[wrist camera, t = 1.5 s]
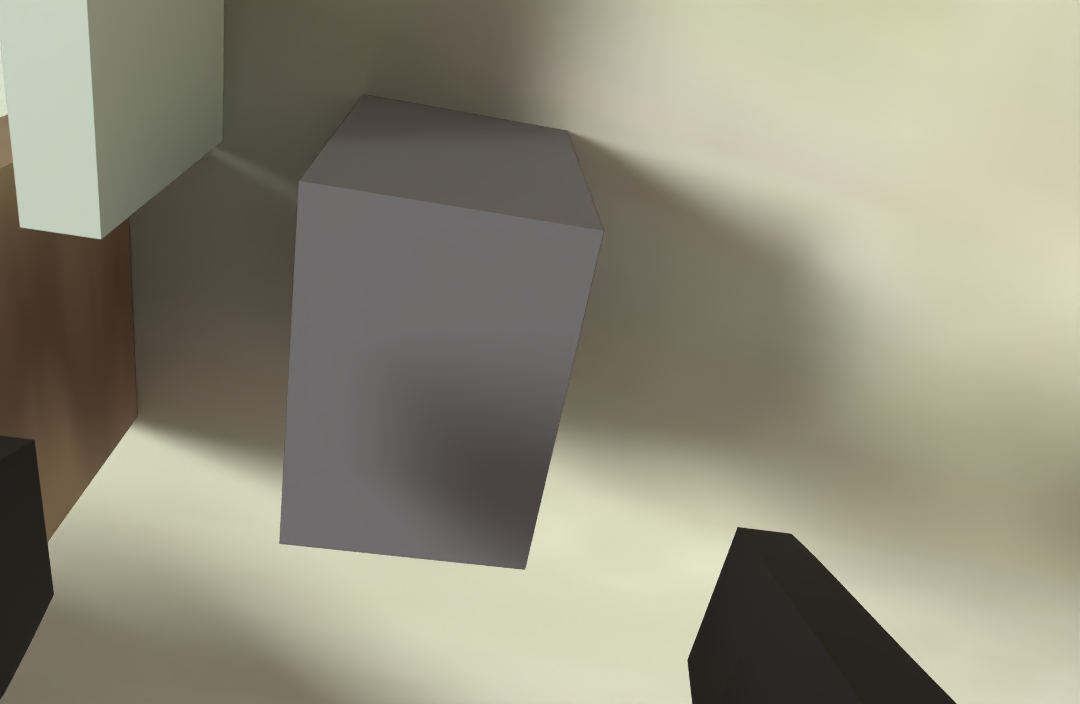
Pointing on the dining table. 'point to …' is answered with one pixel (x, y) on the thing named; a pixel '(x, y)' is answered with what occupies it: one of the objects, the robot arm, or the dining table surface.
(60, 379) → the wall
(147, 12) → the door
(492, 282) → the block
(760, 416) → the dining table surface
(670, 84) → the dining table surface
